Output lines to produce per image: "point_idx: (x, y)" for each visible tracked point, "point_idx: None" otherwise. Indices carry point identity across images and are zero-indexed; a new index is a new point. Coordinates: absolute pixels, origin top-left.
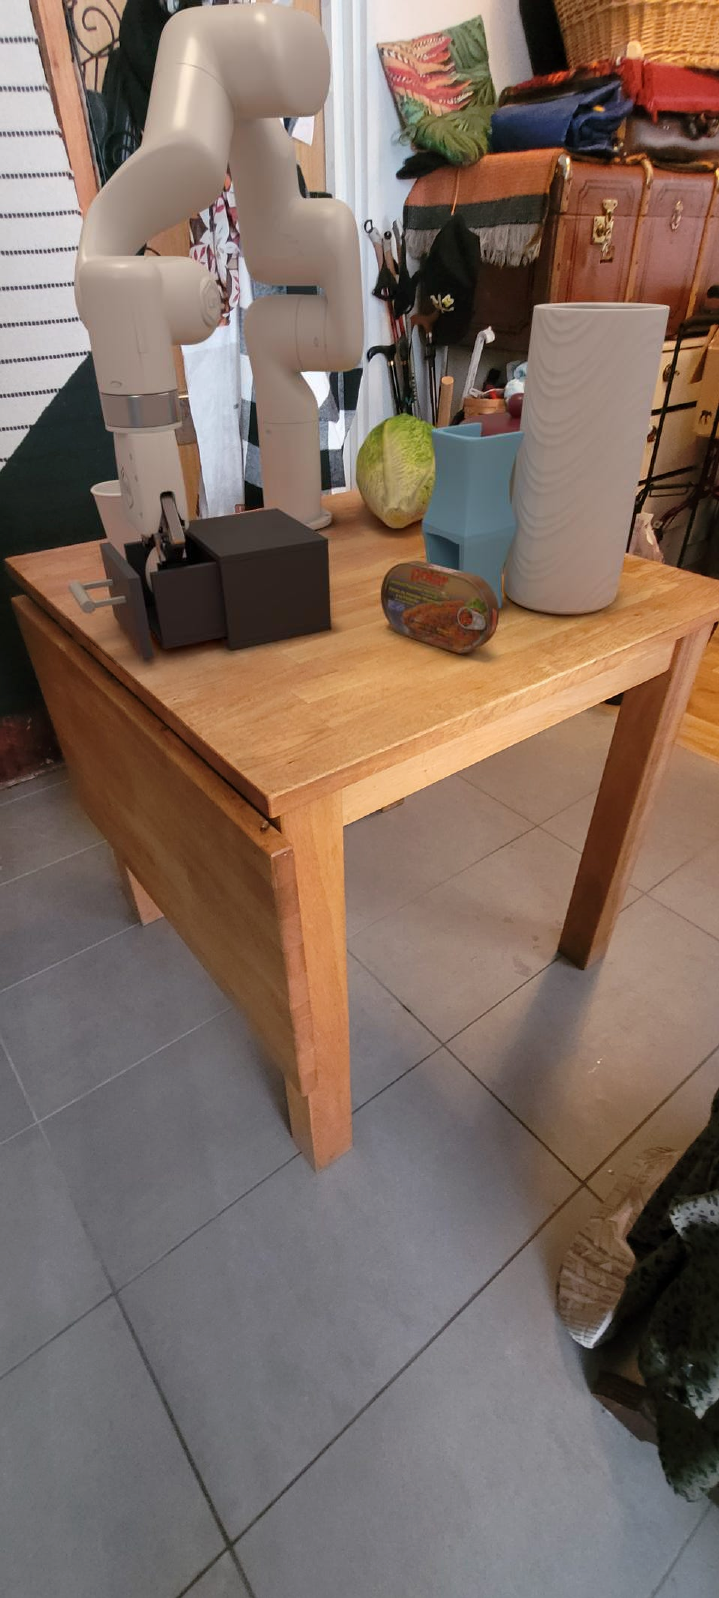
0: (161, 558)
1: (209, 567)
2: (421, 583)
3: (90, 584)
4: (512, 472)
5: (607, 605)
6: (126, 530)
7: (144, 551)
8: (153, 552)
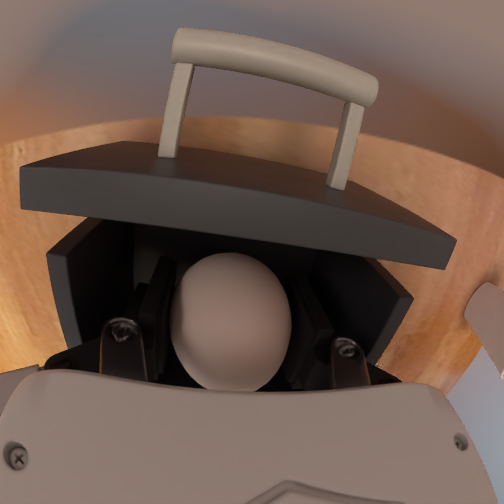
0: (101, 332)
1: None
2: None
3: (344, 122)
4: None
5: None
6: (495, 317)
7: (319, 327)
8: (228, 343)
